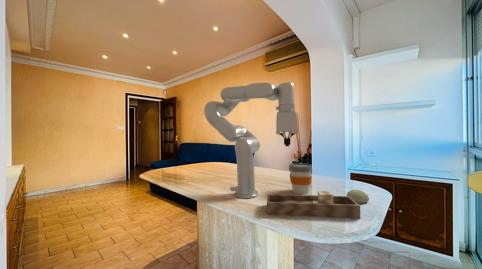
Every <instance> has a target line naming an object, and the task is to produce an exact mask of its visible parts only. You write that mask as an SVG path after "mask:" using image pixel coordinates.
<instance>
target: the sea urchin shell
mask: <svg viewBox="0 0 482 269" xmlns="http://www.w3.org/2000/svg"><path fill="white" fill-rule="evenodd" d="M346 196H350V197H351V198H352V199H353V200H354V201H355V202H356V203H358V204H363V203H368V202H369V201H370V197H369V194H367V193H366V192H365V191H363V190H360V189H350V190H349V191H348V192H347V193H346Z"/></svg>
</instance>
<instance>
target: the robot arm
mask: <svg viewBox="0 0 482 269" xmlns="http://www.w3.org/2000/svg"><path fill="white" fill-rule="evenodd" d="M219 95H220V98H221V100H223V101H215V100H211V101H208V102H206V104H205V105H204V108H203V109H204V110H203V112H204V117H205V119H206V121H207V122H208V124H210V126H212V127H213V128H214V129H215V130H216V131H217V132H218V133H219V134H220V135H221V136H222V137H223V138H224V139H225V140H226V141H228V142H229V143H230V142H231V143H235V144H234V151H235V156H236V171H237V172H236V174H237V177H236V178H237V182H236V183H237V185H236V186H230V187H229V190H230V191H231V192H234V196H235V197H237V198H239V199H252V198H255V197H257V196H258V195H259V192H258V190H256V182H255V181H256V180H255V179H256V178H255V177H256V175H255V174H256V172H255V160H254V155H253V154H254V153H257V152H258V151H259V150H260V148H261V142H260V141H259V139H258V137H257V136H256V135H254V134H253V133H252V132H251V131H249V130H248V129H247V128H246V127H244V126H243V125H234V124H232V123H231V122H230V121H229V120H228V119H227V118H225V116H228V115H229V114H231V112H232V111H233V110H234V109H235V108H236V107H237V106H238V105H239V104H240V103H242V102H243V103H245V102H249V101H250V100H251V99H255V100H256V99H266V100H268V101H277V100H278V105H277V106H275V110H276V111H277V112H276V120H275V121H276V124H275V128H276V131H275V134H276V135H277V136H281V137H282V138H283V145H284V146H285V147H288V148H289V147H290V146H291V138H292V137H293V136H294V135H298V134H299V123H298V122H299V120H298V113H297V111H296V110H295V85H294V83H293V82H289V81H288V82H281V83H279V84H278V85H275V84H273V83H271V82H254V83H249V84H247V85H239V86H226V87H224V88H222V89H221V91H220V94H219ZM286 133H288V136H286Z"/></svg>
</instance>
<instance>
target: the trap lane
mask: <svg viewBox="0 0 482 269" xmlns="http://www.w3.org/2000/svg"><path fill="white" fill-rule="evenodd" d="M266 215H267V216H268V215H271V216H289V217H290V216H292V217H313V218H315V217H316V218H318V217H319V218H337V219H339V218H340V219H361V205H360V203H357V202H355V201H354V200H353V199H352V198H351V197H350V196H347V195H333V204H319V203H318V194H316V195H312V194H310V195H309V194H270V193H269V194H268V193H267V197H266Z"/></svg>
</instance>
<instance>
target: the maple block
mask: <svg viewBox="0 0 482 269" xmlns="http://www.w3.org/2000/svg"><path fill="white" fill-rule="evenodd" d="M317 195H318V203H319V204H333V196H334V194H333V193H332V192H331V191H329V190H318V191H317Z"/></svg>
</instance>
